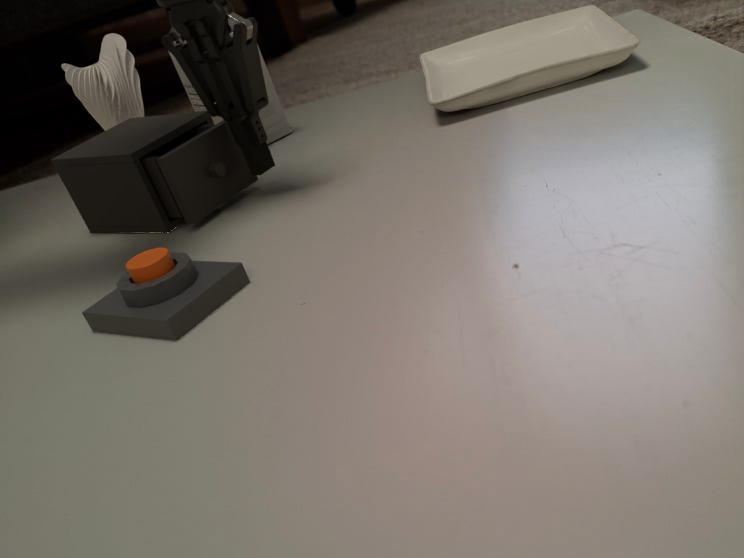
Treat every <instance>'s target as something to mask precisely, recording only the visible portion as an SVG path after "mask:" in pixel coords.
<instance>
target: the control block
mask: <svg viewBox="0 0 744 558" xmlns="http://www.w3.org/2000/svg"><path fill="white" fill-rule="evenodd" d="M169 253H170V255H171V257H172V259H173V261H174V263H175V268H174V269H172V270H171V271H170V272H168V273H167V274H166V275H164V276H161V277H159V278H157V279H155V280H152V281H149V282H145V283H141V284H136V283H134V282H133V280H132V278H131V276H130V274H129V273H128V271H127V270H126V272H124V273H122V274H121V276H120V277H119V278H118V280H117V281H116V283H115V285H116V288H114V289H113V290H112V291H111V292H108V294H106V295H104V297H102V298H101V299H99V300H97V301H96V302H95V303H93V304H92V305H91V306H89V307H88V308H86V309H84V310H83V311H82V312H81V314H82V316H83V317H84V319H85V321H86V323H87V324H88V326H89V328H90V330H91V332H92V333H101V334H111V335H120V336H121V335H122V336H130V337H138V338H139V337H140V338H147V339H148V338H149V339H158V340H167V341H179V340H180V339H181V338H182V337H183V336H185V335H186V334H187V333H189V332H190V331H191V330H192V329H194V328H195V327H196V326H197V325H199V324H200V323H201V322H202V321H203V320H205V319H206V318H208V317H209V315H211V314H212V313H213V312H215V311H216V310H217V309H218V308H220V307H221V306H222V305H224V304H225V303H226V302H228V301H229V300H230V299H231V298H233V296H234V295H236V294H237V293H238V292H240V291H241V290H243V288H245V287H246V286H247V285H248V284H250V283H251V280H250V278H249V276H248V274H247V271H246V269H245V267H244V265H243V262H242V261H241V262H237V261H215V260H213V261H212V260H211V261H210V260H208V261H207V260H192V258H191V257H190V256H189V255H188V254H187V253H186V252H169Z"/></svg>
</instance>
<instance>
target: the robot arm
mask: <svg viewBox="0 0 744 558" xmlns="http://www.w3.org/2000/svg"><path fill="white" fill-rule="evenodd" d="M155 1H156V3H157V5H158V6H159V7H161V8H165V9H167V11H168V19H169V24H170V25H171V28H170V30H169V32H168V33H167V34H165V35H163V36H161V38H160V41H161V43H162V45H163V46H164V47H165V49H167V51H170V53H171V54H172V55H173V56H174V57H175V58H176V60H177V62H178V63H179V65H180V67H181V68H182V70H183V71H184V73H185V75H186V76H187V78H188V80H189V81H190V83H191V85H192V86H193V88H194V90H195V91H196V93H197V95H198V96H199V98H200V99H201V101H202V103H203V104H204V106H205V108H206V109H207V111H208V113H209V114H210V115H211V116H212V117H216V116H219V117H222V118H223V120H224V121H226V122H227V123H228V125H229V127H230V130H231V132H232V134H233V137H234V139H235V142H236V143H237V145H238V146H239V147H241V150H242V152H243V155H244V157H245V159H246V162H247V164H248V167H249V169H250V171H251V174H252V175H257V176H262V175H263V174H265V173H267V172H268V171H269V170H271V169H272V168H274V167H275V166H276V163H275V160H274V158H273V156H272V153H271V150H270V148H269V146H268V145H269V144H267V142H266V141H267V135H266V132H265V130H264V127H263V124H262V122H261V119H260V117H259V111H260V110H261V109H262V108H264V107H265V106H267V105H268V104H269V101H268V96H267V91H266V86H265V81H264V76H263V71H262V66H261V61H260V56H259V51H258V47H259V45H258V46H257V44H258V42H257V37H258V21H257V20H256V18H254V16H250V17H248V18H244V17H243V16H241V15H239V14H237V13H235V8H234V7H233V4H231V2H230V1H229V0H155ZM215 102H216V104H214V103H215Z"/></svg>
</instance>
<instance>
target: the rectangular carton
mask: <svg viewBox="0 0 744 558" xmlns="http://www.w3.org/2000/svg"><path fill="white" fill-rule="evenodd" d="M257 46H258V51H259V56H260V61H261V66H262V71H263V76H264V81H265V86H266V91H267V96H268V101H269V104H268V105H267V106H265V107H264V108H262V109H261V110H260V111H259V117H260V119H261V122H262V124H263V127H264V130H265V132H266V135H267V141H266V142H267V145H269V144H272V143H273V142H275V141H277V140H279V139H281V138H283V137H286V136H287V135H289V134H291V133H292V129H291V127H290V126H291V125H290V123H289V122H288V119H287V116H286V113H285V110H284V108H283V105H282V103H281V101H280V99H279V95H278V93H277V91H276V88H275V85H274V83H273V81H272V78H271V76H270V75H271V74H270V72H269V70H268V68H267V65H266V63H265V60H264V57H263V55H262V52H261V50H260V47H259V44H258V43H257ZM167 51H168V54H169V56H170V58H171V61H172V63H173V66H174V68H175V70H176V72H177V75H178V77H179V79H180V81H181V83H182V85H183V88H184V91H185V92H186V95H187V97H188V100H189V101H190V103H191V106H192V108H193V110H194V112H198V111H207V109H206V108H205V106H204V104H203V103H202V101H201V99H200V98H199V96H198V95H197V93H196V91H195V90H194V88H193V86H192V85H191V83H190V81H189V80H188V78H187V76H186V75H185V73H184V71H183V70H182V68H181V67H180V65H179V63H178V62H177V60H176V58H175V57H174V56H173V55H172V54H171V53H170V51H169V50H167ZM214 104H216V102H215V103H214ZM211 118H212V120H213V122H214V124H215V125H216V124H218V123H219V122H221V121H223V118H222V117H219V116H216V117H212V116H211Z"/></svg>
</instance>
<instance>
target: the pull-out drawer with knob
mask: <svg viewBox="0 0 744 558" xmlns="http://www.w3.org/2000/svg"><path fill="white" fill-rule="evenodd" d="M140 161H141V163H142V165H143V167H144V170H145V172H146V174H147V176H148V178H149V180H150V182H151V184H152V186H153V188H154V190H155V192H156V194H157V196H158V198H159V200H160V202H161V204H162V206H163V209H164V211H165V213H166V215H167V217H168V218H183V217H184V219H185V221H186V222H185V224H187V225H195V224H196V223H197V222H199V221H200V220H202V219H203V218H205V217H206V216H207V215H209V214H211V213H212V212H214V211H215V210H216V209H218V208H219V207H221V206H222V205H224V204H225V203H227V202H228V201H229V200H231V199H232V198H234V197H235V196H237V195H238V194H240V193H241V192H243V191H244V190H246V189H247V188H248V187H250V186H252V185H253V184H254V183H256V182H258V181H259V177H258V175H252V174H251V171H250V169H249V167H248V164H247V162H246V159H245V157H244V155H243V152H242V150H241V147H239V146H238V145H237V143H236V142H235V139H234V137H233V134H232V132H231V130H230V127H229V125H228V123H227V122H226V121H224V120H223V121H221V122H219V123H218V124H216V125H215V124H206V125H198V126H196V127H194V128H192V129H190V130H189V131H187V132H185V133H183V134H182V135H180V136H178V137H176V138H175V139H173V140H171V141H169V142H168V143H166V144H164V145H162V146H161V147H159V148H157V149H155V150H154V151H152V152H150V153H148V154H147V155H145V156H143V157H141V158H140Z"/></svg>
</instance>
